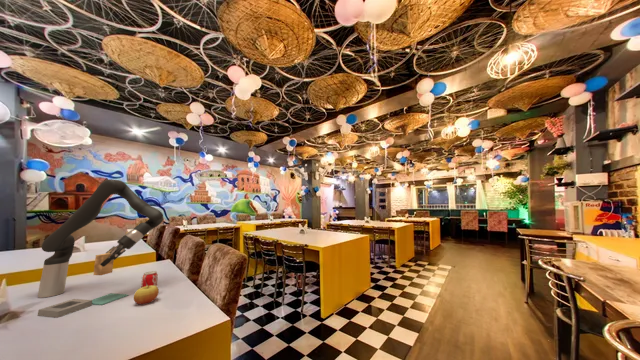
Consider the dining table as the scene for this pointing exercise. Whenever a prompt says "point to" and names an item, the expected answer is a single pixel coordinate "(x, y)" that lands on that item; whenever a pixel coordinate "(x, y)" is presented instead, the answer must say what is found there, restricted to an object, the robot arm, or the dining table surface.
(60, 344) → the dining table surface
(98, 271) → the oak block
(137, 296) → the apple
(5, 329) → the dining table surface
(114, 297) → the teal mat
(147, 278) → the soda can
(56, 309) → the frame
